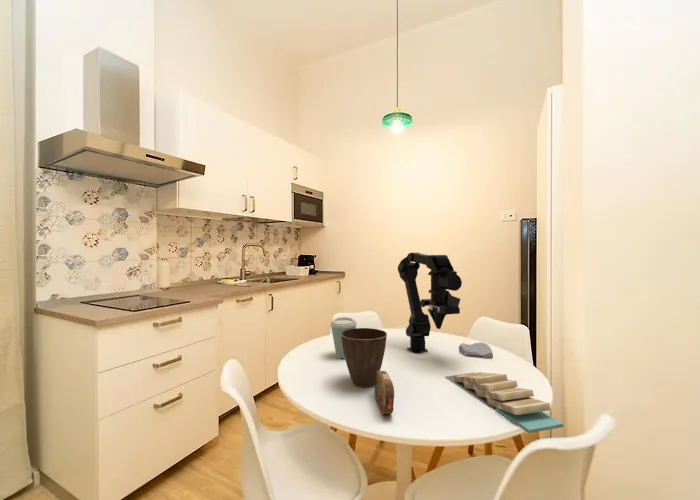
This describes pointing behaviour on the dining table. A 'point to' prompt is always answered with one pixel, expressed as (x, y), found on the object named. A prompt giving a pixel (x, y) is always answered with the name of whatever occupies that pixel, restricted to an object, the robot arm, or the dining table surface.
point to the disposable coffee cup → (338, 327)
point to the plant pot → (363, 354)
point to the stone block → (476, 350)
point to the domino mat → (470, 391)
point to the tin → (384, 392)
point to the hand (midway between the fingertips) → (438, 328)
